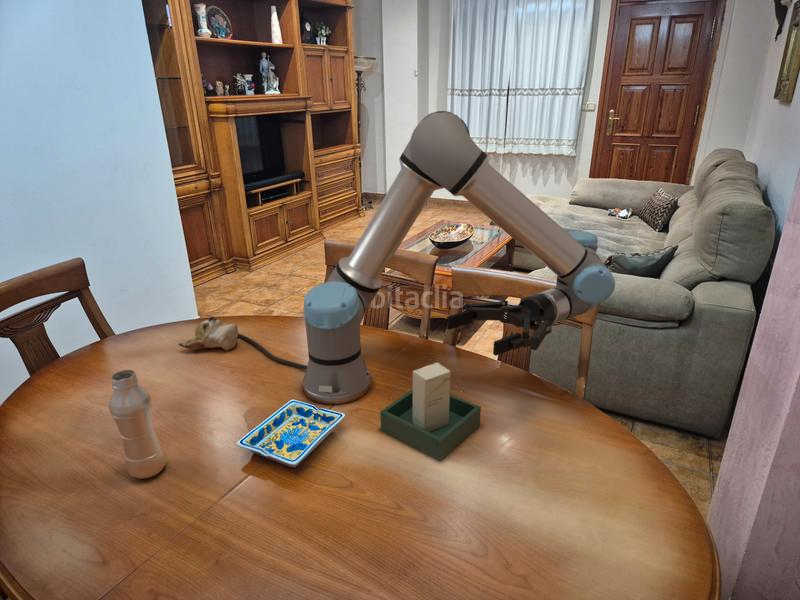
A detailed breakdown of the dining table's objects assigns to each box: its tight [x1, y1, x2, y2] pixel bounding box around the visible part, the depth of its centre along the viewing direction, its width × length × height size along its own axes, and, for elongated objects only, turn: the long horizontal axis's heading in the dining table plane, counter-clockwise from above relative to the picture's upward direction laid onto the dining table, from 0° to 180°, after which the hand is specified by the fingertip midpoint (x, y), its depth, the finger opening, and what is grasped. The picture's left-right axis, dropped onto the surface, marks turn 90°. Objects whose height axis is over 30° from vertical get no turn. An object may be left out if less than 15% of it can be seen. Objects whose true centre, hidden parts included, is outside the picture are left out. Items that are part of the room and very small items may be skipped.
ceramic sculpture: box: [178, 317, 239, 351], centre depth 135 cm, size 11×9×15 cm
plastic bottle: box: [108, 369, 167, 480], centre depth 88 cm, size 6×7×20 cm
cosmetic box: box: [412, 362, 451, 432], centre depth 100 cm, size 6×4×12 cm
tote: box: [379, 388, 482, 462], centre depth 102 cm, size 15×14×4 cm
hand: (470, 335), depth 101 cm, fingers open, 13 cm apart
